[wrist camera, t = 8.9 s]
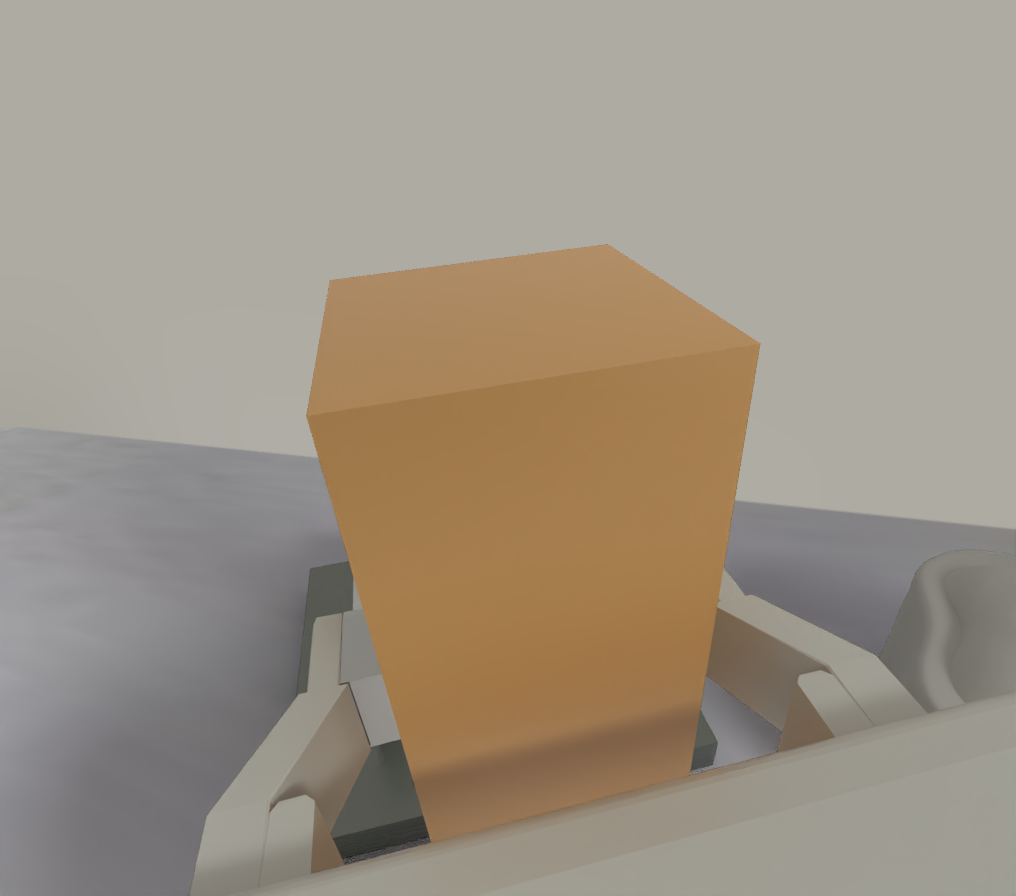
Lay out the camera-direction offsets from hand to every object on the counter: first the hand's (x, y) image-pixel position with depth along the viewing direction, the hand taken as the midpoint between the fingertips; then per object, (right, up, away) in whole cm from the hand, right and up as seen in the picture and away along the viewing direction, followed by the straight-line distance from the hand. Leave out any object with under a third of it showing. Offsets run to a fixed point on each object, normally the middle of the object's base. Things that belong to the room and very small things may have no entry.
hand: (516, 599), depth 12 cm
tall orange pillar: (+1, -7, +3) cm, 8 cm away
